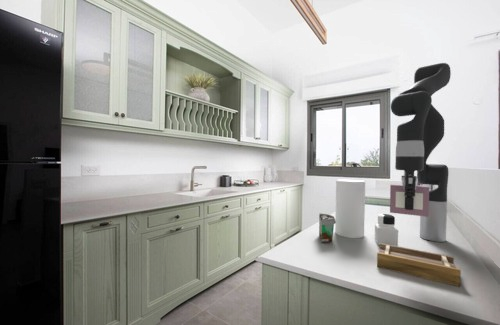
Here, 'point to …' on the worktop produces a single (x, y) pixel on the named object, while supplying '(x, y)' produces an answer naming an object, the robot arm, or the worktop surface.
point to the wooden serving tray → (419, 263)
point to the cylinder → (350, 208)
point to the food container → (326, 227)
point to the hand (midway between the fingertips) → (408, 207)
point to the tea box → (419, 200)
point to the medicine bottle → (386, 230)
